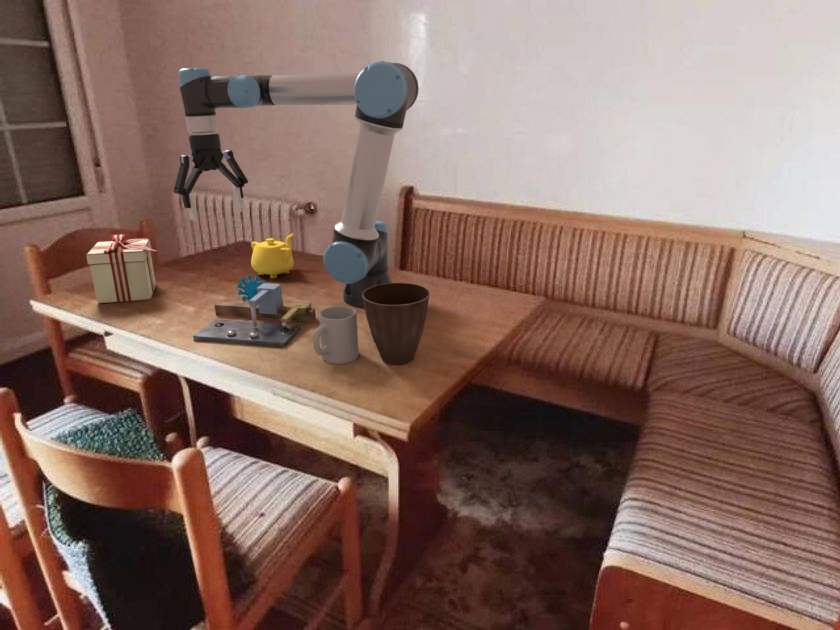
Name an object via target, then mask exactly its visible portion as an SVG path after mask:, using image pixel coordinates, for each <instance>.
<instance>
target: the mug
mask: <svg viewBox="0 0 840 630" xmlns="http://www.w3.org/2000/svg"><path fill="white" fill-rule="evenodd" d="M318 319H319V320H318V321H319V326H318V327H317V328H316V329H315V330H314V332H313V342H312V343H313V348H314V352H315V353H316V354H317V355H318V356H321V358H322V360H324V361H325V362H326V363H328V364H333V365H345V364H348V363H351V362H354V361H355V360H357V359H358V357H359V354H360V353H359V352H360V351H359V339H358V338H359V335H358V334H359V333H358V320H357V319H358V317H357V311H356V309H355V308H353V307H350V306H346V305H345V306H344V305H336V306H330V307H326V308H324V309H322V310H320V311H319V315H318ZM320 345H321V347H320Z"/></svg>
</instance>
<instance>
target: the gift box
mask: <svg viewBox="0 0 840 630" xmlns="http://www.w3.org/2000/svg"><path fill="white" fill-rule="evenodd" d="M125 238H126V234H125V233H124V234H114V235H111V240H110V241H109V240H108V241H107V240H106V241H97V242H96V243H95V244H94V246H93V247H92V248H90V250H89V251H88V252H87V253H86V256H85V257H86V260H87V265H88V266H89V267H90V273H91V278H92V283H93V289H94V293H95V299H96V303H97V304H105V303H106V304H107V303H108V304H109V303H120V302H133V301H145V300H152V299H151V298H152V296H153V294H154V291H155V288H156V285H157V284H156V283H157V282H156V277H155V271H154V266H153V259H152V252H158V251H159V249H153V248H152V245H151V240H150V238H149V237H146V238H145V237H144V238H128V239H125Z"/></svg>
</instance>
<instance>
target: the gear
mask: <svg viewBox="0 0 840 630" xmlns="http://www.w3.org/2000/svg"><path fill="white" fill-rule="evenodd" d="M246 279H247V281H248V282H246ZM252 279H253V275H251V274H250V275H247V276H246V277H241V278H240V280H239V281H240V282H239V283H238V284H237V285H236V287H237V289H238V290H237V295H239V296H240V295H243V296H242V297H241V300H242V302H243V303H244V302H247V301H249V300H250V299H252V298H253V297H254V296H255V295H257V287H259V286H260V285H261V284H263V283H268V282H267V280H266V279H265V280H264V279H263V281H262V282H261V281H260V280H261V277H260V276H259V275H256V276H255V278H254V280H253V281H252ZM259 281H260V282H259ZM243 285H244V286H243Z"/></svg>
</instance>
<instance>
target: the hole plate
mask: <svg viewBox="0 0 840 630" xmlns="http://www.w3.org/2000/svg"><path fill="white" fill-rule="evenodd" d="M286 326H287V328H286V329H283V327H282V323H272V322H271V323H270V322H258V321H257V326H256V327H254V326H253V321H246V320H234V319H220V318H219V319H218V318H214V320H212V321H211V322H210V323H208V324H207V325H205V326H204V327H202V329H200V330H199V331H197V332H196V333H195V334H193V336H192V338H193V341H198V342H199V341H200V342H209V343H210V342H211V343H223V344H224V343H225V344H237V345H246V346H247V345H248V346H258V347H259V346H261V347H270V348H271V347H272V348H283V349H285V348H286V347H287V346H288V345H289V344H290V343H291V341H292V340H294V339H295V337H296V336H297V335H298V334H299V333H300V332H301V331H302V329H303V328H302V325H299V324H289V323H286Z"/></svg>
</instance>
